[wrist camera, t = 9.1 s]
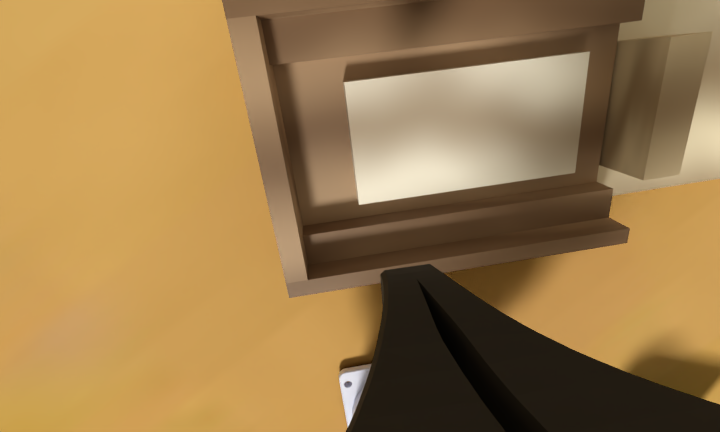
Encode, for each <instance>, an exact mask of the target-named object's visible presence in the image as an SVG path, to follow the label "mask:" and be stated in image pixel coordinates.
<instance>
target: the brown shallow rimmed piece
mask: <svg viewBox="0 0 720 432" xmlns="http://www.w3.org/2000/svg"><path fill="white" fill-rule="evenodd" d="M222 2H223V6H224V11H225V15H226V20H227V24H228V29H229V33H230V37H231V42H232V46H233V51H234V55H235V60H236V64H237V68H238V73H239V77H240V82H241V86H242V91H243V95H244V99H245V104H246V108H247V113H248V117H249V122H250V126H251V130H252V135H253V139H254V144H255V148H256V153H257V157H258V161H259V166H260V170H261V175H262V179H263V184H264V188H265V192H266V197H267V201H268V206H269V210H270V215H271V219H272V223H273V228H274V232H275V237H276V241H277V246H278V250H279V254H280V259H281V263H282V268H283V272H284V277H285V281H286V285H287V290H288V294H289V298H292V297H298V296H304V295H310V294H317V293H323V292H329V291H335V290H341V289H347V288H353V287H359V286H366V285H372V284H378V283H381V278H380V274H381V273H382V272H383V271H384V270H389V269H396V268H403V267H410V266H417V265H425V264H431V265H432V266H434V267H435V268H437V269H438V270H439V271H441V272H442V273H445V272H452V271H458V270H464V269H470V268H476V267H482V266H488V265H494V264H501V263H507V262H513V261H519V260H525V259H531V258H537V257H544V256H550V255H556V254H562V253H568V252H574V251H580V250H587V249H593V248H599V247H605V246H611V245H617V244H623V243H627V240H628V235H629V230H630V228H628V227H626V226H624V225H622V224H620V223H618V222H616V221H614V220H612V219H611V218H609V212H610V206H611V200H612V194H613V188H611V187H608V186H606V185H603V184H601V183H598V182H597V176H598V169H599V162H600V155H601V149H602V142H603V135H604V129H605V122H606V115H607V108H608V102H609V95H610V88H611V81H612V75H613V68H614V61H615V54H616V48H617V41H618V34H619V27H620V23H626V22H633V21H641V20H642V16H643V10H644V4H645V0H222Z"/></svg>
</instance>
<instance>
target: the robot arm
mask: <svg viewBox="0 0 720 432" xmlns="http://www.w3.org/2000/svg"><path fill="white" fill-rule="evenodd" d="M380 278H381V291H382V303H383V311H382V320H381V326H380V331H379V336H378V341H377V345H376V349H375V353H374V357H373V361H372V364H367V365H361V366H356V367H350V368H345V369H342V370H341V371H340V372H339V382H340V387H341V393H342V398H343V404H344V409H345V415H346V421H347V426H348V428H347V430H346V432H720V405H719V404H716V403H713V402H710V401H707V400H704V399H701V398H698V397H695V396H692V395H689V394H686V393H683V392H680V391H677V390H674V389H671V388H668V387H665V386H662V385H659V384H657V383H654V382H651V381H649V380H646V379H643V378H641V377H638V376H635V375H632V374H630V373H627V372H625V371H622V370H620V369H617V368H615V367H612V366H610V365H608V364H605V363H603V362H600V361H598V360H595V359H593V358H591V357H588V356H586V355H584V354H581V353H579V352H577V351H575V350H572V349H570V348H568V347H566V346H564V345H562V344H560V343H558V342H556V341H554V340H552V339H550V338H548V337H546V336H544V335H542V334H540V333H538V332H536V331H534V330H532V329H530V328H528V327H526V326H524V325H523V324H521V323H519V322H517V321H516V320H514V319H512V318H511V317H509V316H507V315H505V314H504V313H502V312H500V311H499V310H497V309H495V308H494V307H492V306H491V305H489V304H487V303H486V302H484V301H483V300H481V299H480V298H478V297H477V296H475V295H474V294H472V293H471V292H469V291H468V290H466V289H465V288H463V287H462V286H461V285H459V284H458V283H456V282H455V281H453V280H452V279H451V278H449V277H448V276H446V275H445V274H444V273H442V272H441V271H439V270H438V269H437V268H435V267H434V266H432V265H431V264H425V265H417V266H410V267H403V268H396V269H389V270H384V271H383V272H382V273H381V274H380ZM347 381H350V382H348V383H346V382H347Z"/></svg>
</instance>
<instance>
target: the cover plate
mask: <svg viewBox="0 0 720 432" xmlns="http://www.w3.org/2000/svg"><path fill="white" fill-rule="evenodd" d="M714 179H720V0H645V4H644V10H643V16H642V20H641V21H633V22H626V23H620V27H619V34H618V41H617V48H616V54H615V61H614V68H613V75H612V81H611V88H610V95H609V102H608V108H607V115H606V122H605V129H604V135H603V142H602V149H601V155H600V162H599V169H598V176H597V182H598V183H601V184H603V185H606V186H608V187H611V188H613V194H612V196H614V195H620V194H626V193H633V192H639V191H645V190H651V189H658V188H664V187H670V186H677V185H683V184H689V183H695V182H702V181H708V180H714Z"/></svg>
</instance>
